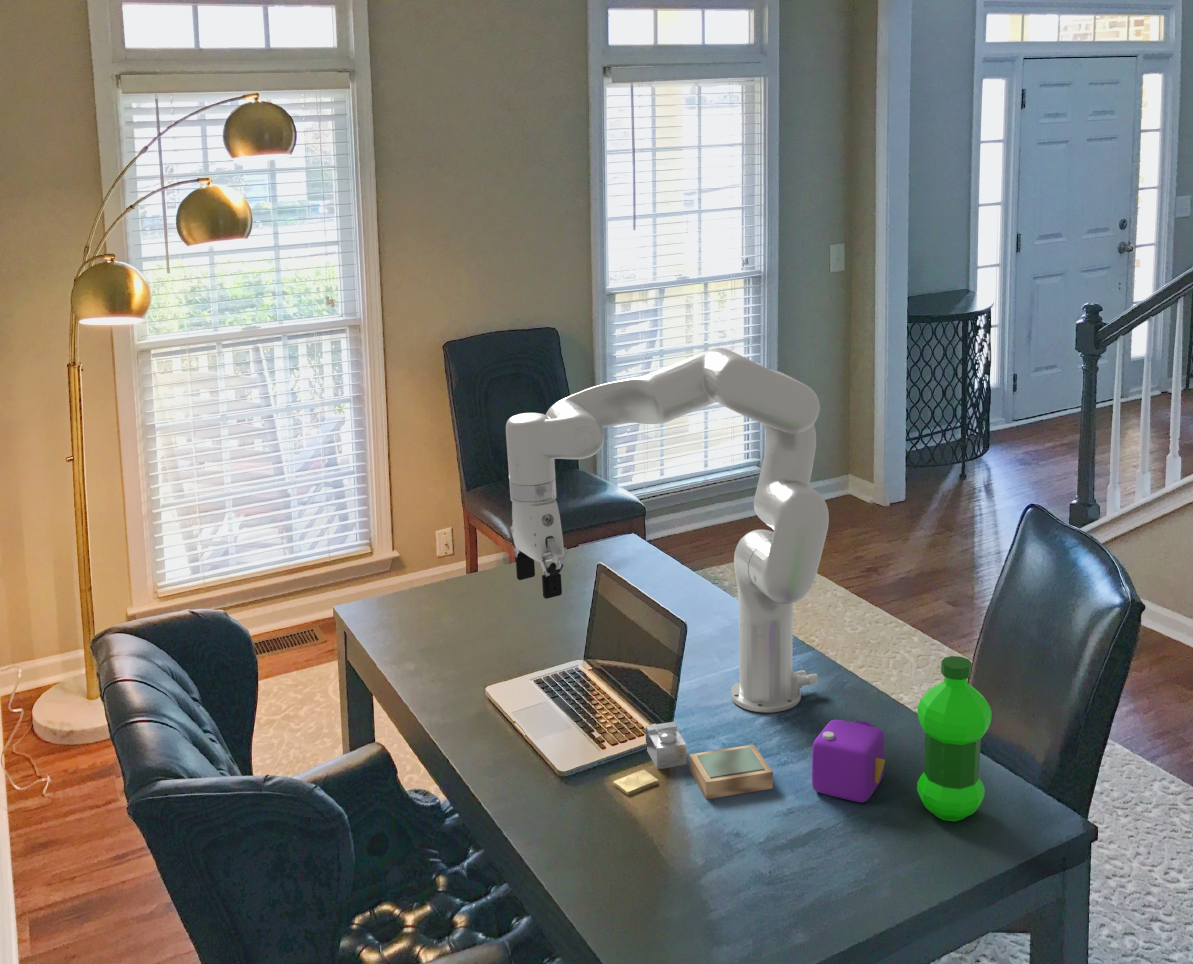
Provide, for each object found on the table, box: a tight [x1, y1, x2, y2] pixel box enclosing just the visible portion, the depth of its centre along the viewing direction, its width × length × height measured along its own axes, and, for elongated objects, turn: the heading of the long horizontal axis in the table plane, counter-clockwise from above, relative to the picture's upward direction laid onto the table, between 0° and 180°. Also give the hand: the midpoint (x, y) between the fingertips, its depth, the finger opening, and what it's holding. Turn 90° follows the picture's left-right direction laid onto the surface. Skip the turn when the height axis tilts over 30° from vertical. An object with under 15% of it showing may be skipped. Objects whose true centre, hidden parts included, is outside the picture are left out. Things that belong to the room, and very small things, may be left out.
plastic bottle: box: [916, 655, 993, 822], centre depth 190 cm, size 10×10×25 cm
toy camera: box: [811, 719, 886, 803], centre depth 202 cm, size 11×14×10 cm
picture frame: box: [689, 744, 774, 800], centre depth 205 cm, size 11×9×3 cm
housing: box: [645, 721, 688, 771], centre depth 212 cm, size 7×5×5 cm
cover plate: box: [612, 769, 659, 797], centre depth 205 cm, size 6×4×1 cm, turn 123°
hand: (539, 587), depth 212 cm, fingers open, 9 cm apart
